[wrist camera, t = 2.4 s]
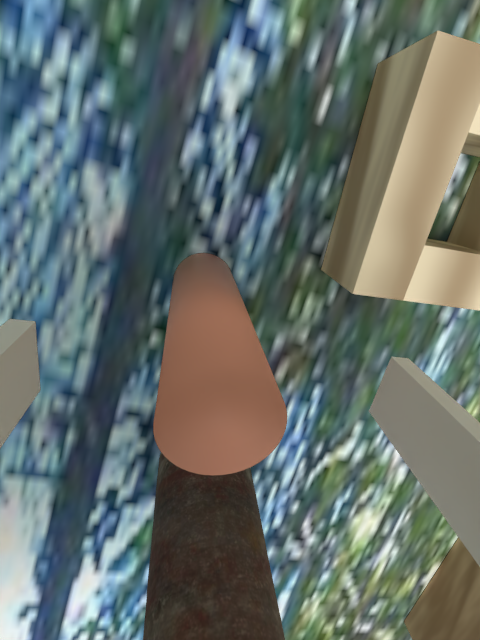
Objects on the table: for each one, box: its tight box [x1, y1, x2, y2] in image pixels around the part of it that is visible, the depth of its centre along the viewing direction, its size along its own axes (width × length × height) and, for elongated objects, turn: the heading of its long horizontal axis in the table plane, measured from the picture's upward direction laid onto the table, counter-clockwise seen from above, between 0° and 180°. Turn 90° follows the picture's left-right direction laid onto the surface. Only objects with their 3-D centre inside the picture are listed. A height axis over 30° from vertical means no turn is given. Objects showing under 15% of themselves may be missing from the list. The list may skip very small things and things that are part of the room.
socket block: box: [321, 31, 480, 310], centre depth 20 cm, size 12×12×5 cm
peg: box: [153, 253, 287, 475], centre depth 16 cm, size 4×4×14 cm
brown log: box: [143, 452, 285, 640], centre depth 20 cm, size 8×7×20 cm
